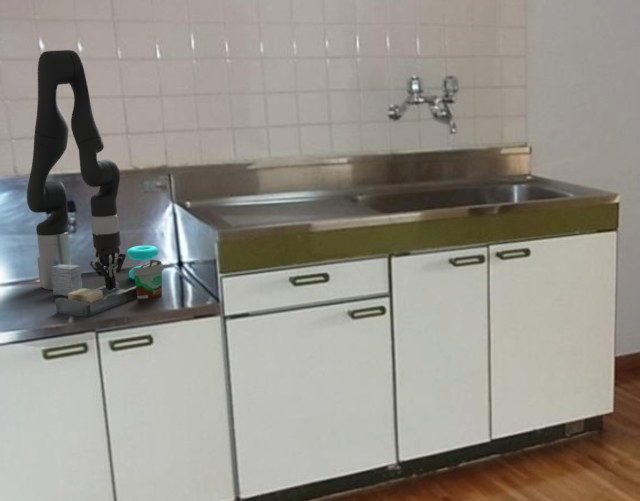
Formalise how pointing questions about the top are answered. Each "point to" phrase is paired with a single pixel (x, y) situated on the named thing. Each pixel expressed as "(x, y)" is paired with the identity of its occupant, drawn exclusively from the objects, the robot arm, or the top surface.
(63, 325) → the top surface
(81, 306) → the chute
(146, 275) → the food container
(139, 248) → the donuts
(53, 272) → the medicine box
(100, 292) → the beech block
